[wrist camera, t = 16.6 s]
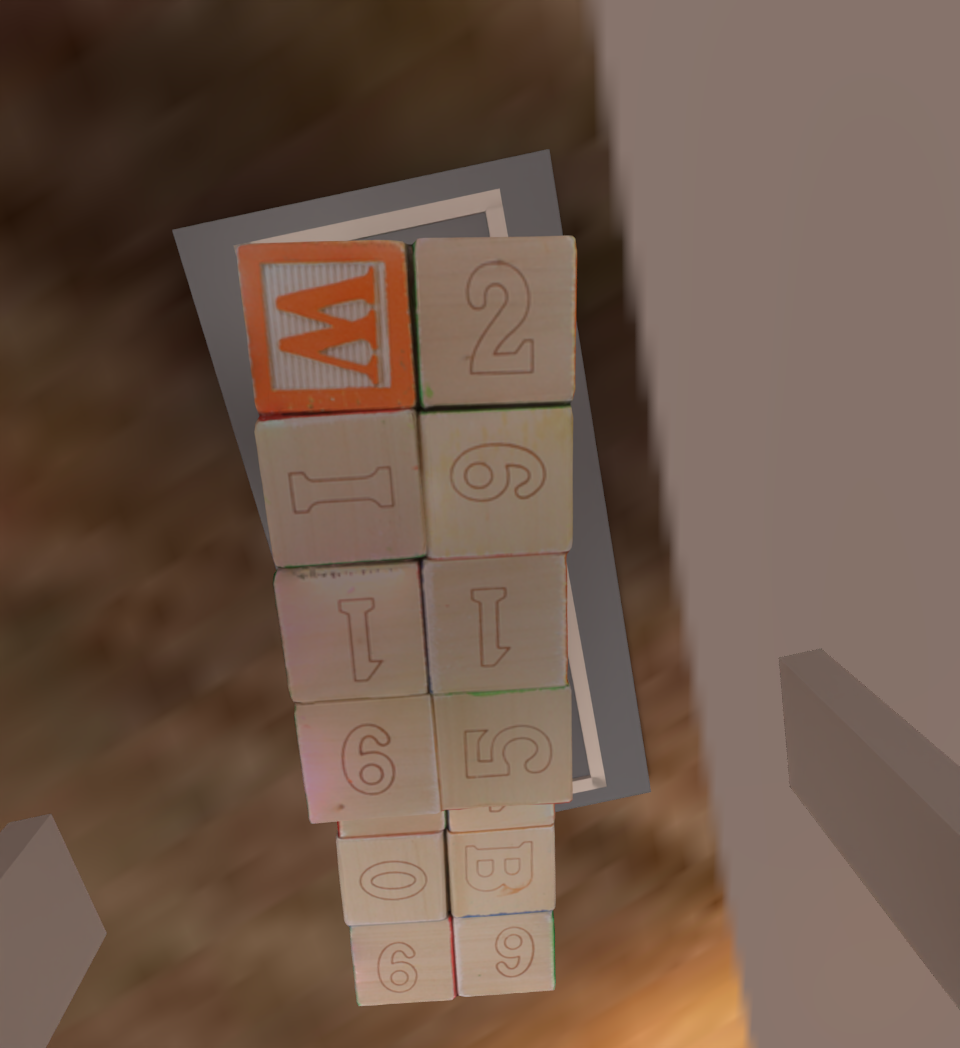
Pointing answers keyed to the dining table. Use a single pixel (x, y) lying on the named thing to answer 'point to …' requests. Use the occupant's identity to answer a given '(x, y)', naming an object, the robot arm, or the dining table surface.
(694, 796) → the dining table surface
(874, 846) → the robot arm
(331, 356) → the stack of blocks
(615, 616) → the blueprint baseplate
